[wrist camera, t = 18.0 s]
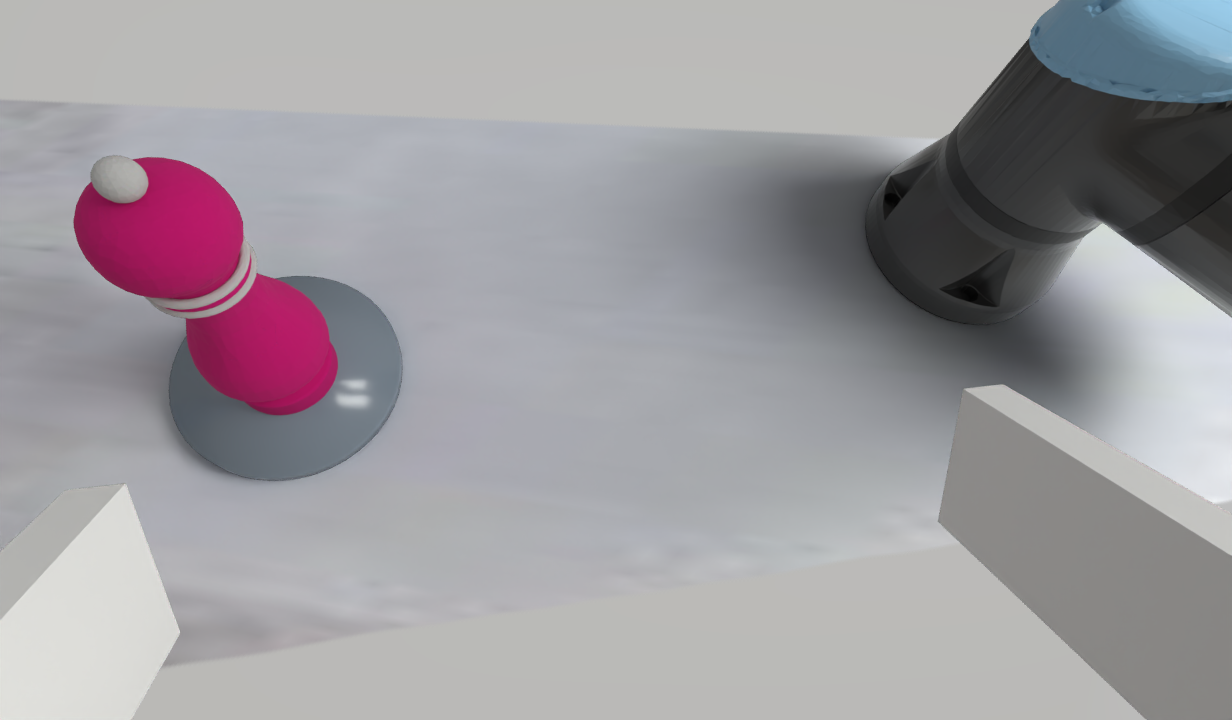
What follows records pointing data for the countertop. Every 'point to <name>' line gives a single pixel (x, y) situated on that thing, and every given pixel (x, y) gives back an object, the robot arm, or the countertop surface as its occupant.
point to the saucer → (316, 432)
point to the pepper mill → (205, 280)
